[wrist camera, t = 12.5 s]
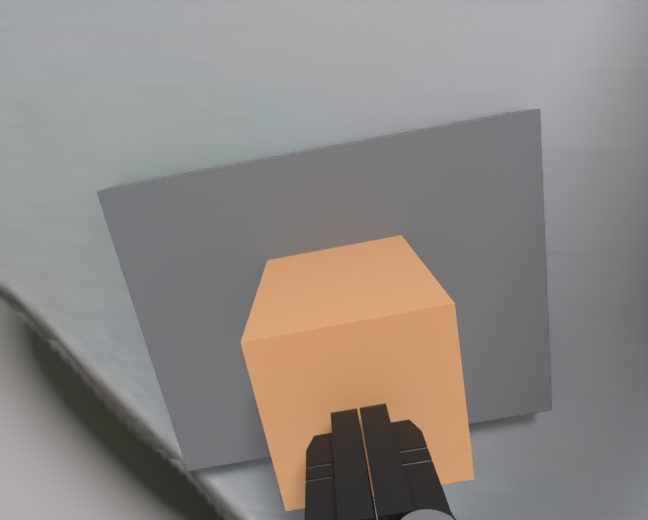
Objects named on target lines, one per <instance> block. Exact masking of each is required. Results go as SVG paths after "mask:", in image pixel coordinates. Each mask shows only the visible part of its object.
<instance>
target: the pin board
mask: <svg viewBox="0 0 648 520" xmlns="http://www.w3.org/2000/svg"><path fill="white" fill-rule="evenodd" d="M97 194H98V197H99V200H100V203H101V206H102V209H103V213H104V216H105V219H106V222H107V225H108V228H109V231H110V234H111V237H112V240H113V243H114V246H115V249H116V252H117V255H118V259H119V262H120V265H121V268H122V271H123V274H124V277H125V280H126V283H127V286H128V289H129V292H130V295H131V298H132V302H133V305H134V308H135V311H136V314H137V317H138V320H139V323H140V326H141V329H142V332H143V335H144V338H145V341H146V344H147V348H148V351H149V354H150V357H151V360H152V363H153V366H154V369H155V372H156V375H157V378H158V381H159V384H160V387H161V391H162V394H163V397H164V400H165V403H166V406H167V409H168V412H169V415H170V418H171V421H172V424H173V427H174V430H175V433H176V437H177V440H178V443H179V446H180V449H181V452H182V455H183V458H184V461H185V464H186V467H187V470H188V471H190V470H196V469H202V468H208V467H214V466H220V465H226V464H232V463H238V462H244V461H250V460H256V459H262V458H268V457H271V455H270V451H269V447H268V443H267V440H266V436H265V432H264V429H263V425H262V421H261V417H260V414H259V410H258V406H257V402H256V399H255V395H254V391H253V387H252V384H251V380H250V376H249V372H248V369H247V365H246V361H245V358H244V354H243V350H242V346H241V343H240V342H241V339H242V336H243V333H244V330H245V327H246V324H247V321H248V318H249V315H250V312H251V309H252V306H253V303H254V300H255V297H256V293H257V290H258V287H259V284H260V281H261V278H262V275H263V272H264V269H265V266H266V263H267V260H272V259H277V258H282V257H288V256H293V255H298V254H304V253H309V252H314V251H320V250H325V249H330V248H336V247H341V246H346V245H352V244H357V243H362V242H368V241H373V240H378V239H384V238H389V237H394V236H400V235H402V236H403V238H404V239H405V240H406V242H407V243H408V244H409V245H410V247H411V248H412V249H413V251H414V252H415V253H416V254H417V256H418V257H419V258H420V259H421V261H422V262H423V263H424V265H425V266H426V267H427V268H428V270H429V271H430V272H431V274H432V275H433V276H434V277H435V279H436V280H437V281H438V282H439V284H440V285H441V286H442V288H443V289H444V290H445V291H446V293H447V294H448V295H449V296H450V298H451V299H452V300H453V302H454V303H455V309H456V318H457V327H458V335H459V344H460V353H461V362H462V371H463V380H464V389H465V398H466V407H467V416H468V424H471V423H477V422H483V421H489V420H495V419H501V418H507V417H513V416H519V415H525V414H531V413H537V412H543V411H549V410H552V400H551V375H550V350H549V324H548V299H547V274H546V248H545V223H544V198H543V172H542V147H541V122H540V109H532V110H523V111H517V112H512V113H507V114H501V115H496V116H491V117H485V118H480V119H474V120H469V121H464V122H458V123H453V124H448V125H442V126H437V127H432V128H426V129H421V130H415V131H410V132H405V133H399V134H394V135H389V136H383V137H378V138H373V139H367V140H362V141H357V142H351V143H346V144H340V145H335V146H330V147H324V148H319V149H314V150H308V151H303V152H298V153H292V154H287V155H281V156H276V157H271V158H265V159H260V160H255V161H249V162H244V163H239V164H233V165H228V166H223V167H217V168H212V169H206V170H201V171H196V172H190V173H185V174H180V175H174V176H169V177H164V178H158V179H153V180H147V181H142V182H137V183H131V184H126V185H121V186H115V187H110V188H107V189H103V190H100V191H97Z"/></svg>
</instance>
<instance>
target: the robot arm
mask: <svg viewBox="0 0 648 520" xmlns="http://www.w3.org/2000/svg"><path fill="white" fill-rule="evenodd" d="M359 409H360V415H361V421H362V427H363V433H364V439H365V445H366V451H367V456H368V462H369V468H370V474H371V480H372V486H373V492H374V498H375V504H376V510H377V516H378V520H456V519H455V518H454V516H453V515H452V513H451V511H450V508H449V505H448V503H447V500H446V497H445V494H444V491H443V489H442V486H441V483H440V480H439V477H438V475H437V472H436V469H435V466H434V464H433V462H432V458H431V455H430V452H429V450H428V448H427V444H426V441H425V438H424V436H423V433H422V431H421V430H420V429H419V428H418V427H417V426H416V425H415V424H414V423H413V422H412V421H410V420H403V421H397V422H391V421H390V417H389V413H388V410H387V406H386V403H384V404H378V405H372V406H366V407H361V408H359ZM331 428H332V433H327V434H321V435H315V436H314V437H313V439H312V440H311V442H310V444H309V446H308V448H307V450H306V483H305V520H376V514H375V508H374V501H373V495H372V489H371V483H370V477H369V471H368V466H367V460H366V454H365V449H364V443H363V438H362V432H361V427H360V422H359V416H358V411H357V408H355V409H349V410H344V411H338V412H332V413H331Z"/></svg>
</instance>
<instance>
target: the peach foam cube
mask: <svg viewBox="0 0 648 520" xmlns="http://www.w3.org/2000/svg"><path fill="white" fill-rule="evenodd" d="M240 343H241V346H242V350H243V354H244V358H245V361H246V365H247V369H248V372H249V376H250V380H251V384H252V387H253V391H254V395H255V399H256V402H257V406H258V410H259V414H260V417H261V421H262V425H263V429H264V432H265V436H266V440H267V443H268V447H269V451H270V455H271V458H272V462H273V466H274V470H275V473H276V477H277V481H278V485H279V488H280V492H281V496H282V499H283V503H284V507H285V511H291V510H297V509H303V508H305V483H306V450H307V448H308V446H309V444H310V442H311V440H312V439H313V437H314V436H315V435H321V434H327V433H332V428H331V413H332V412H338V411H344V410H349V409H355V408H357V411H358V416H359V422H360V427H361V432H362V438H363V443H364V449H365V454H366V460H367V466H368V471H369V477H370V483H371V489H372V495H373V496H374V492H373V486H372V480H371V474H370V468H369V462H368V456H367V451H366V445H365V439H364V433H363V427H362V421H361V415H360V409H359V408H361V407H366V406H372V405H378V404H384V403H386V406H387V410H388V413H389V417H390V421H391V422H397V421H403V420H410V421H412V422H413V423H414V424H415V425H416V426H417V427H418V428H419V429H420V430H421V431H422V433H423V436H424V438H425V441H426V444H427V448H428V450H429V452H430V455H431V458H432V462H433V464H434V466H435V469H436V472H437V475H438V477H439V480H440V483H441V485H444V484H450V483H456V482H461V481H467V480H473V479H475V478H474V469H473V460H472V451H471V442H470V434H469V425H468V416H467V407H466V398H465V389H464V380H463V371H462V362H461V353H460V344H459V335H458V327H457V318H456V309H455V303H454V302H453V300H452V299H451V298H450V296H449V295H448V294H447V293H446V291H445V290H444V289H443V288H442V286H441V285H440V284H439V282H438V281H437V280H436V279H435V277H434V276H433V275H432V274H431V272H430V271H429V270H428V268H427V267H426V266H425V265H424V263H423V262H422V261H421V259H420V258H419V257H418V256H417V254H416V253H415V252H414V251H413V249H412V248H411V247H410V245H409V244H408V243H407V242H406V240H405V239H404V238H403V236H402V235H400V236H394V237H389V238H384V239H378V240H373V241H368V242H362V243H357V244H352V245H346V246H341V247H336V248H330V249H325V250H320V251H314V252H309V253H304V254H298V255H293V256H288V257H282V258H277V259H272V260H267V263H266V266H265V269H264V272H263V275H262V278H261V281H260V284H259V287H258V290H257V293H256V297H255V300H254V303H253V306H252V309H251V312H250V315H249V318H248V321H247V324H246V327H245V330H244V333H243V336H242V339H241V342H240Z"/></svg>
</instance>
